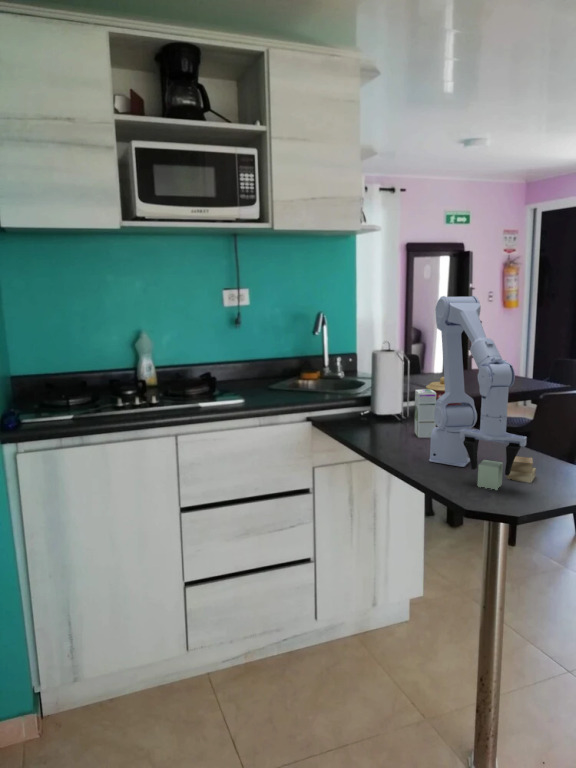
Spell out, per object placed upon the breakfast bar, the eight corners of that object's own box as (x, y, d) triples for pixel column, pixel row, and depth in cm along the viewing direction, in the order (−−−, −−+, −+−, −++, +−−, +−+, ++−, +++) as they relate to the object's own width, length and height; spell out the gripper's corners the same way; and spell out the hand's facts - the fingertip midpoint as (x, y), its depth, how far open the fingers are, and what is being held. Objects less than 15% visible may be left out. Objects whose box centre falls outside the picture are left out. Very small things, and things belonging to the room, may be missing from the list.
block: (477, 487, 133) (478, 464, 132) (482, 481, 136) (483, 459, 135) (497, 490, 130) (498, 467, 129) (501, 484, 134) (503, 462, 133)
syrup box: (435, 437, 176) (437, 392, 173) (416, 437, 176) (418, 392, 173) (431, 433, 181) (433, 389, 179) (413, 433, 181) (414, 389, 179)
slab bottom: (506, 480, 138) (507, 470, 138) (511, 474, 142) (512, 464, 142) (530, 484, 135) (531, 474, 135) (535, 477, 139) (535, 468, 139)
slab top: (509, 471, 137) (510, 461, 137) (510, 465, 142) (510, 455, 141) (532, 473, 135) (532, 463, 135) (531, 467, 140) (532, 457, 139)
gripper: (457, 414, 131) (454, 470, 133) (523, 422, 123) (519, 481, 125) (466, 409, 137) (463, 462, 139) (529, 416, 129) (526, 473, 131)
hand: (490, 471), depth 132 cm, fingers open, 7 cm apart
